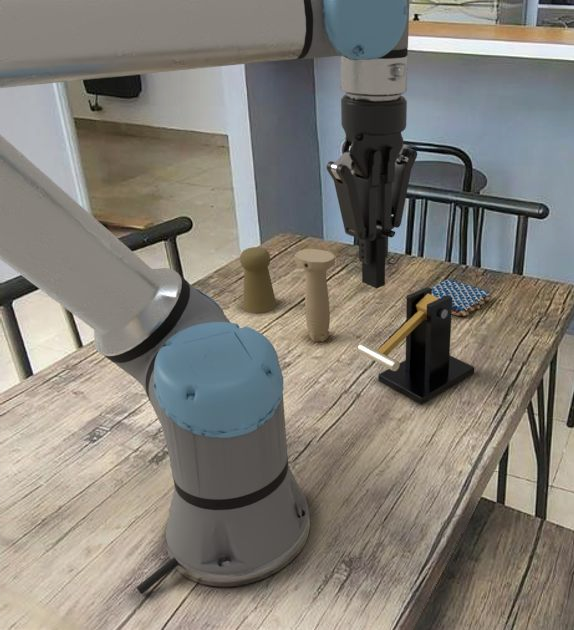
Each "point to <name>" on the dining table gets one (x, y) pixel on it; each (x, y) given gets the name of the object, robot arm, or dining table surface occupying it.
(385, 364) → the lever
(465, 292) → the woven mat
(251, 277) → the olive pawn shaped figure
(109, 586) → the dining table surface
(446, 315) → the bracket
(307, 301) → the handle
